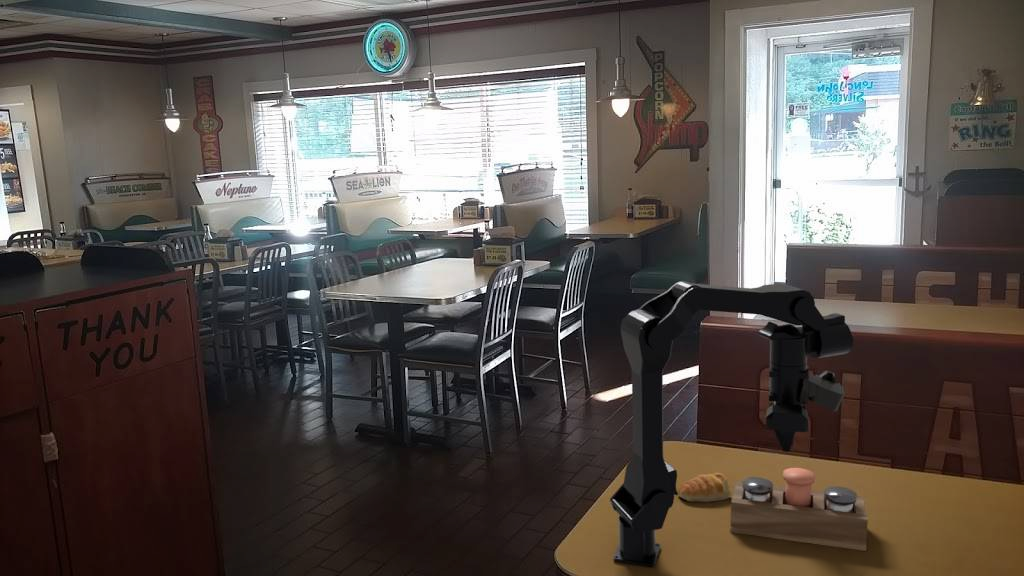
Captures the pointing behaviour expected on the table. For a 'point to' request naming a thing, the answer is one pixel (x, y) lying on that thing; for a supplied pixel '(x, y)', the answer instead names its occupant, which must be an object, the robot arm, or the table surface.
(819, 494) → the brown wooden rack
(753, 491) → the plunger
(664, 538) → the table surface
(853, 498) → the plunger
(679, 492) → the pastry
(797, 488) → the pink stopper
